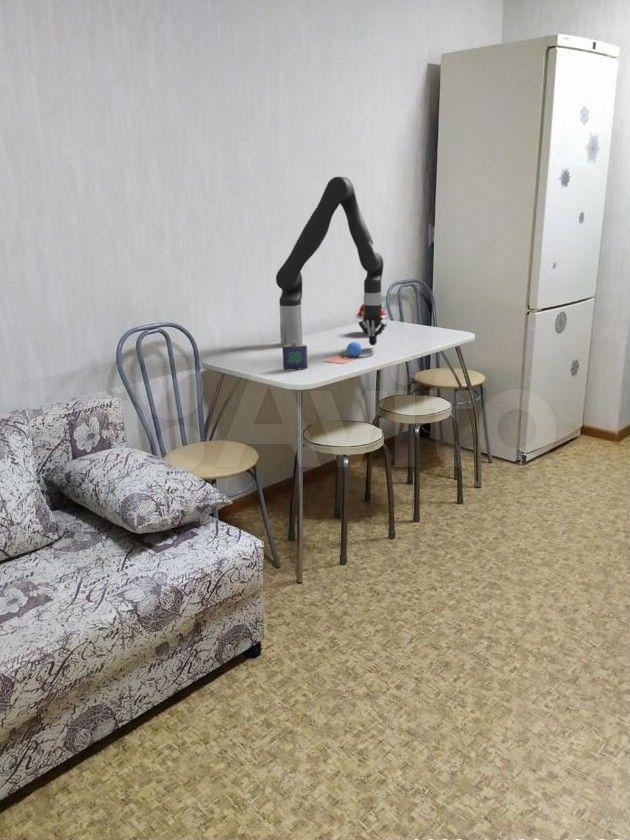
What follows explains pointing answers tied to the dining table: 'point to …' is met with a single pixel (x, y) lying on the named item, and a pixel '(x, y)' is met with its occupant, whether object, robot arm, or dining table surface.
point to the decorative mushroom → (361, 314)
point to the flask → (295, 356)
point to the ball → (354, 349)
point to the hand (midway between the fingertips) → (372, 344)
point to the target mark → (362, 355)
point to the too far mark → (339, 360)
